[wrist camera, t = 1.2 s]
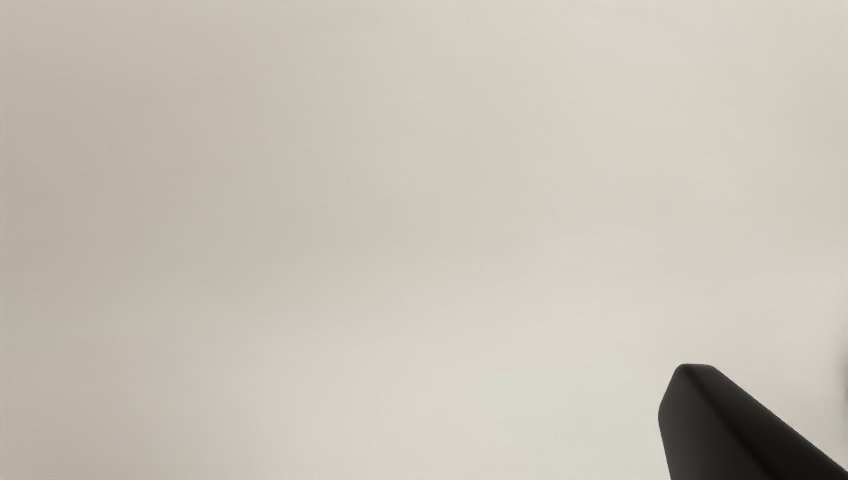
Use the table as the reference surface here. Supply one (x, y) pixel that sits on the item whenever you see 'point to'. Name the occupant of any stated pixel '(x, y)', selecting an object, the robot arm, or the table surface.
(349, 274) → the table surface
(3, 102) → the table surface
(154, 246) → the table surface
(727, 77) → the table surface
